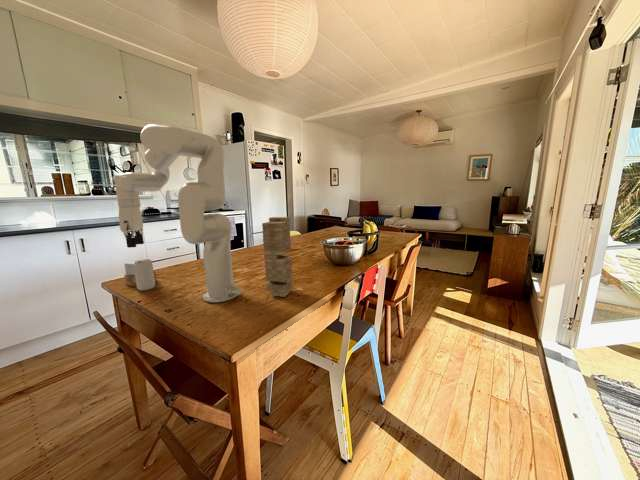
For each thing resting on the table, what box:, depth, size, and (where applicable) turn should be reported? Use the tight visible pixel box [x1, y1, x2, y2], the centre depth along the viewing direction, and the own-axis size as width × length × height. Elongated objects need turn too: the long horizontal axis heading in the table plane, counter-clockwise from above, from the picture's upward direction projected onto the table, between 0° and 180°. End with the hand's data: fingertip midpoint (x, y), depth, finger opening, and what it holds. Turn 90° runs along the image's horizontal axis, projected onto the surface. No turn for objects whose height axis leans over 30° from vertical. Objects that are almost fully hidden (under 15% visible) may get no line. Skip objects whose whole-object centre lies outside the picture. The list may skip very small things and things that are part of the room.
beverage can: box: [134, 258, 156, 292], centre depth 105 cm, size 6×6×12 cm
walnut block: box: [124, 269, 157, 287], centre depth 113 cm, size 8×8×5 cm
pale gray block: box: [124, 259, 153, 275], centre depth 112 cm, size 7×7×5 cm
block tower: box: [261, 216, 294, 298], centre depth 96 cm, size 8×8×29 cm
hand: (135, 245), depth 110 cm, fingers open, 6 cm apart
